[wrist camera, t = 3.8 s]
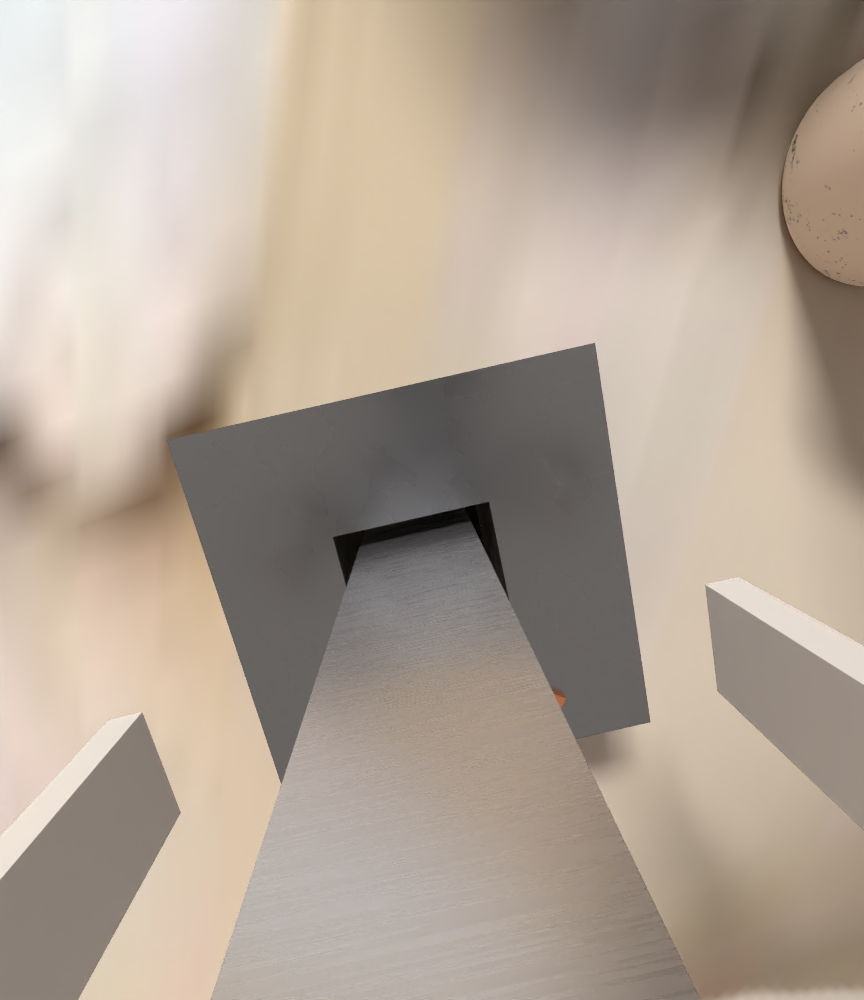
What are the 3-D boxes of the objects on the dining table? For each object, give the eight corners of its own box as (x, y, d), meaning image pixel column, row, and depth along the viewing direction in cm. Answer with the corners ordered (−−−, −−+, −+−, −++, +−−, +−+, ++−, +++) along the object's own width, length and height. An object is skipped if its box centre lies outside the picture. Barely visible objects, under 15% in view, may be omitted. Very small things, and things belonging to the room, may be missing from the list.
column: (370, 511, 23) (150, 1173, 3) (457, 491, 23) (724, 1044, 3) (394, 605, 24) (327, 1536, 4) (477, 586, 24) (777, 1437, 4)
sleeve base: (231, 427, 22) (140, 445, 15) (545, 356, 22) (614, 337, 15) (316, 707, 25) (276, 839, 17) (593, 644, 25) (671, 751, 17)
